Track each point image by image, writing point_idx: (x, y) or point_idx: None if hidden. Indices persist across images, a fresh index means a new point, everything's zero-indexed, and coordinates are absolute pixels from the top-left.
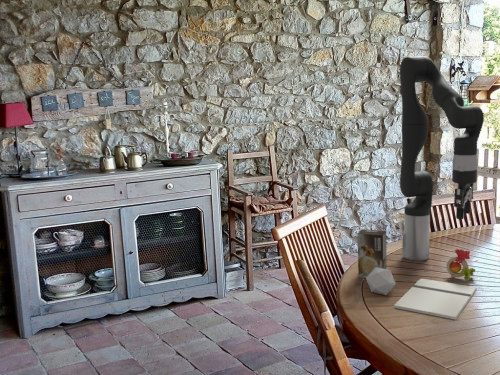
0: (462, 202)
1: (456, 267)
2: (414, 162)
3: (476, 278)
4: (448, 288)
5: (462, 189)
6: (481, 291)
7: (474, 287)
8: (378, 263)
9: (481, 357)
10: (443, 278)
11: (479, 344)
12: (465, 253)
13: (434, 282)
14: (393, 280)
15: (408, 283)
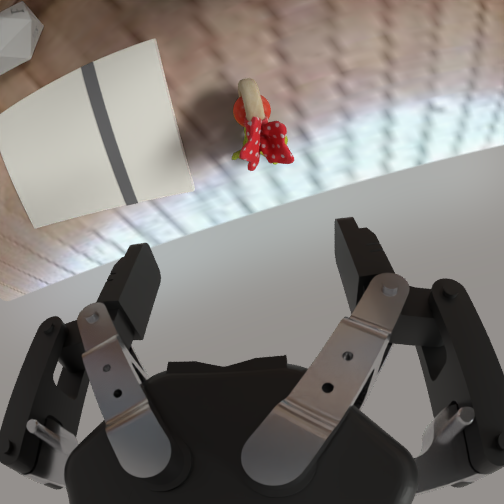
0: (76, 388)
1: (235, 119)
2: None
3: None
4: (134, 141)
5: (46, 483)
6: (192, 201)
7: (189, 187)
8: None
9: (6, 287)
10: (220, 77)
11: (19, 277)
12: (249, 161)
13: (148, 87)
14: (16, 61)
15: (113, 30)
